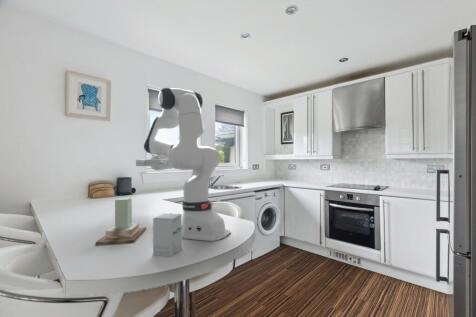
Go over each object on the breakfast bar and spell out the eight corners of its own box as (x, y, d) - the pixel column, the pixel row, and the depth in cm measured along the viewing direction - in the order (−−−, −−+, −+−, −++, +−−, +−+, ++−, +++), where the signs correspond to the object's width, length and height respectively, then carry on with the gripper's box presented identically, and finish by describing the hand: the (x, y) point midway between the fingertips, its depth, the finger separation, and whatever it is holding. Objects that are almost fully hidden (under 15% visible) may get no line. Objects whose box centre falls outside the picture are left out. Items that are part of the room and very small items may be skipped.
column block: (131, 224, 99) (131, 197, 99) (127, 228, 94) (127, 199, 94) (119, 225, 98) (119, 198, 98) (115, 228, 93) (115, 199, 93)
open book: (146, 229, 106) (146, 220, 106) (133, 242, 88) (133, 232, 88) (114, 231, 104) (114, 222, 104) (95, 244, 86) (95, 234, 86)
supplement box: (172, 256, 74) (172, 218, 74) (152, 255, 75) (152, 217, 76) (182, 248, 81) (182, 213, 81) (163, 247, 83) (163, 213, 83)
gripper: (139, 157, 129) (131, 156, 115) (175, 157, 132) (172, 156, 118) (139, 168, 129) (131, 169, 115) (176, 168, 132) (172, 168, 118)
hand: (152, 162), depth 117 cm, fingers open, 8 cm apart
